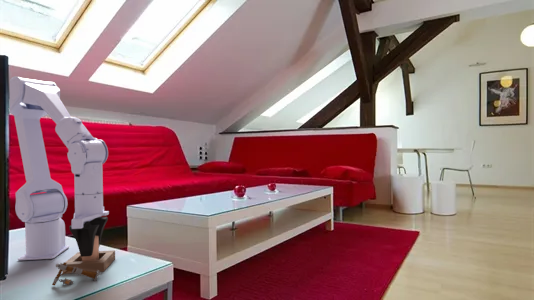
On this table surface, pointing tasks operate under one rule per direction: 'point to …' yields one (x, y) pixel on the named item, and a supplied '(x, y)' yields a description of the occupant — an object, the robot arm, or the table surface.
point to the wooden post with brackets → (73, 270)
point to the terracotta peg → (95, 251)
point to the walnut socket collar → (91, 262)
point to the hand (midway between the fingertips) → (90, 252)
